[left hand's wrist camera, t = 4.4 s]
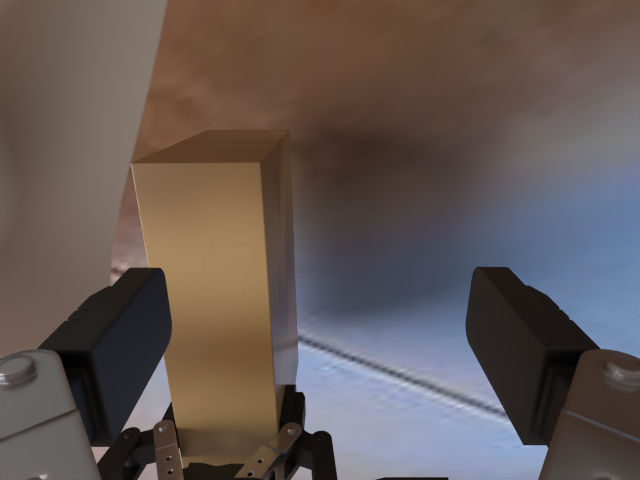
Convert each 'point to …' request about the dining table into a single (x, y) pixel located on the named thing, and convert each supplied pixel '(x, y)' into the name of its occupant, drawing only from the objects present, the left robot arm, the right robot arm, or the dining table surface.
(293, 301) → the box
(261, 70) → the dining table surface
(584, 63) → the dining table surface
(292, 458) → the right robot arm
